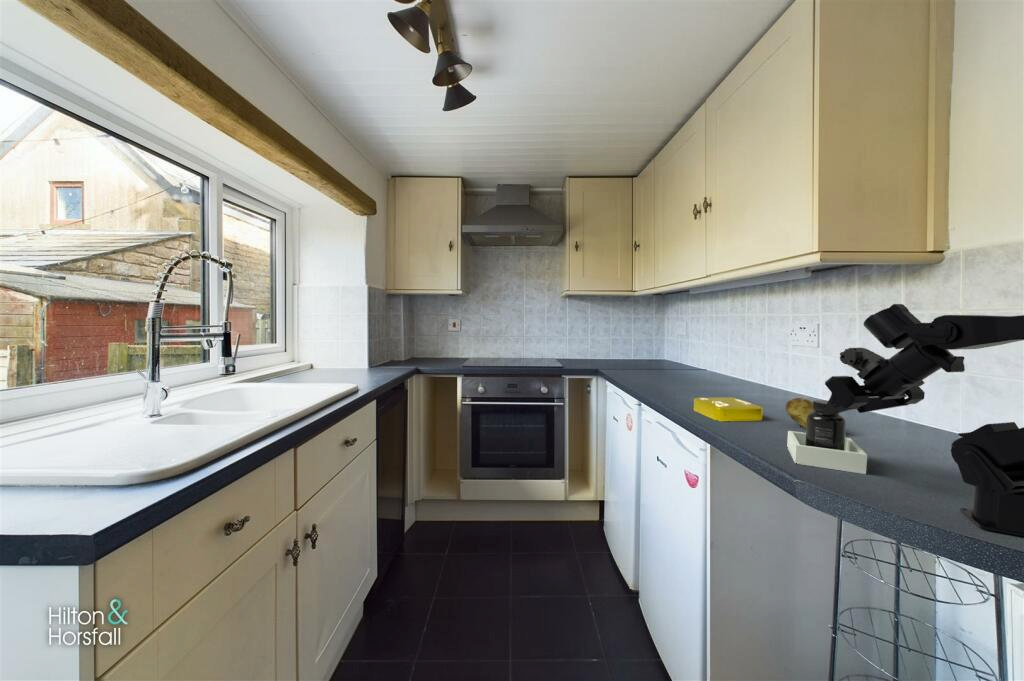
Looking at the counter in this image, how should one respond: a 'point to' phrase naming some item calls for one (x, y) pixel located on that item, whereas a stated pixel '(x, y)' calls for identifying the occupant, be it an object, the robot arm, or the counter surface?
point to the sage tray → (827, 454)
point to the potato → (799, 410)
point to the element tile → (728, 409)
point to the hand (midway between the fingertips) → (841, 412)
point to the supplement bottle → (825, 428)
